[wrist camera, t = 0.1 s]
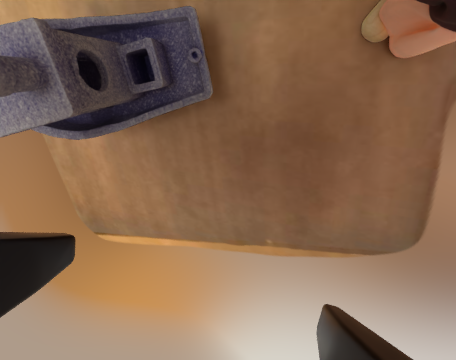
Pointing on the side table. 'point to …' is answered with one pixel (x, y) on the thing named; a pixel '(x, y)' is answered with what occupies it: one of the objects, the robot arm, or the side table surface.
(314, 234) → the side table surface
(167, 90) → the toy boat
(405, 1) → the grandmother figurine
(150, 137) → the side table surface
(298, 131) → the side table surface
